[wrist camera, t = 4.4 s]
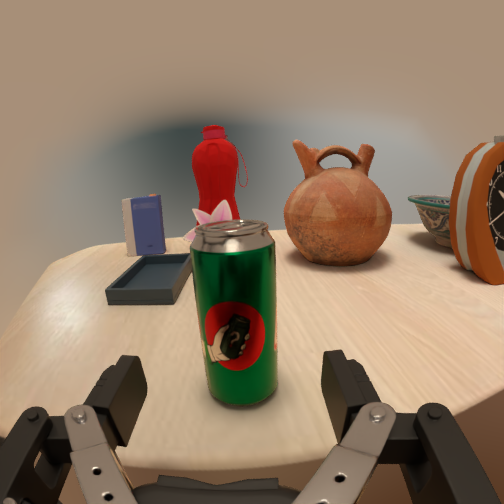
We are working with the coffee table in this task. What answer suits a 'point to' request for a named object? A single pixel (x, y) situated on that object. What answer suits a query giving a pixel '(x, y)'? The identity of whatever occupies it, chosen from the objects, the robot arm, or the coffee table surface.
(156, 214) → the walkman
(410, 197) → the bowl
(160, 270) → the tray
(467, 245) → the alarm clock
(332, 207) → the jug
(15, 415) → the coffee table surface
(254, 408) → the coffee table surface
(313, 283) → the coffee table surface
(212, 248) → the soda can
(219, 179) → the water bottle
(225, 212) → the lily
